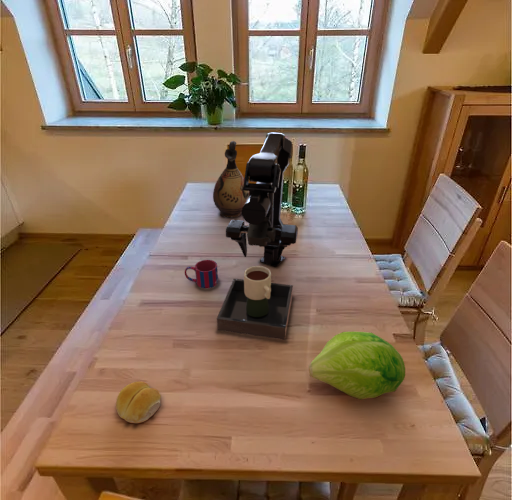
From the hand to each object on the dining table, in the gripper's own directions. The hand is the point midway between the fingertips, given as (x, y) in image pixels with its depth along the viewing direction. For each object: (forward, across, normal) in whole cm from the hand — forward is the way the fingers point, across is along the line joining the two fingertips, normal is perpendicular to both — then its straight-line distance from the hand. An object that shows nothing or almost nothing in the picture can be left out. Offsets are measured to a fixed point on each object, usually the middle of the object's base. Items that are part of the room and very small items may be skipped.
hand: (261, 258), depth 99 cm
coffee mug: (+12, 0, -8) cm, 15 cm away
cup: (+13, -19, +2) cm, 23 cm away
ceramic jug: (+13, -23, +54) cm, 60 cm away
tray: (+13, 0, -9) cm, 16 cm away
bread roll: (+13, -18, -41) cm, 47 cm away
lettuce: (+13, +26, -27) cm, 39 cm away
